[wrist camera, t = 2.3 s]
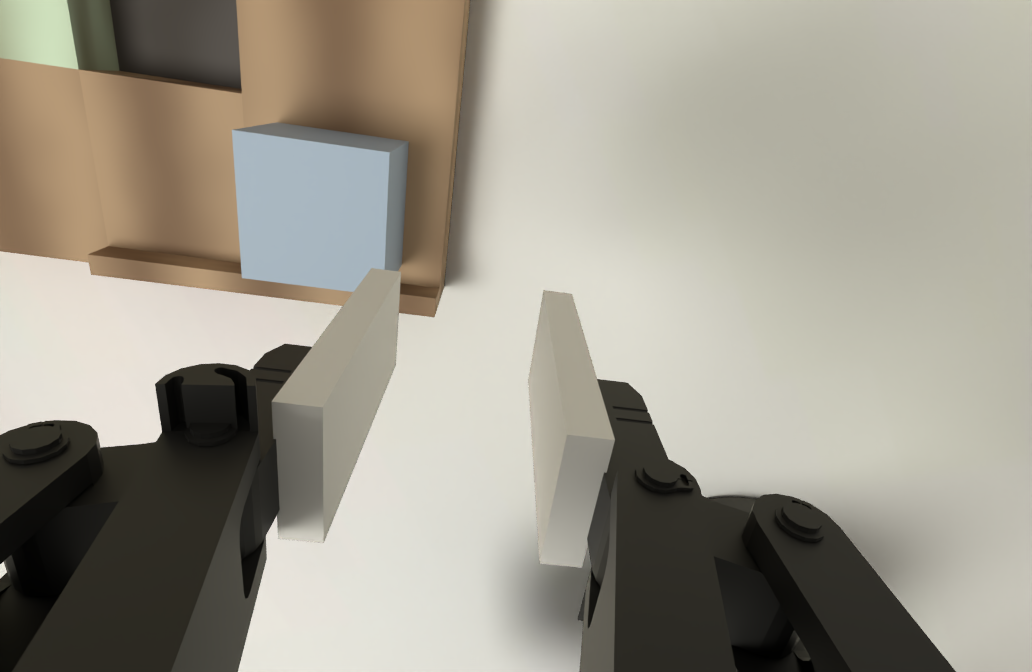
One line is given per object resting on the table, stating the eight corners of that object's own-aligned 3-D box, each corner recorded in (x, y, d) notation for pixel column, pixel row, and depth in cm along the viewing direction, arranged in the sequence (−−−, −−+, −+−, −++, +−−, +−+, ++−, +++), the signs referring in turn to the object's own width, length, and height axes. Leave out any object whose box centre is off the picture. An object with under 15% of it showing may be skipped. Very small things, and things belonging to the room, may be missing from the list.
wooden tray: (476, -69, 25) (469, -99, 21) (443, 287, 32) (434, 317, 28) (-327, -206, 23) (-511, -270, 19) (-173, 208, 30) (-282, 228, 26)
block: (408, 141, 26) (389, 152, 22) (401, 264, 28) (383, 295, 24) (277, 122, 25) (231, 129, 21) (281, 249, 28) (241, 277, 24)
